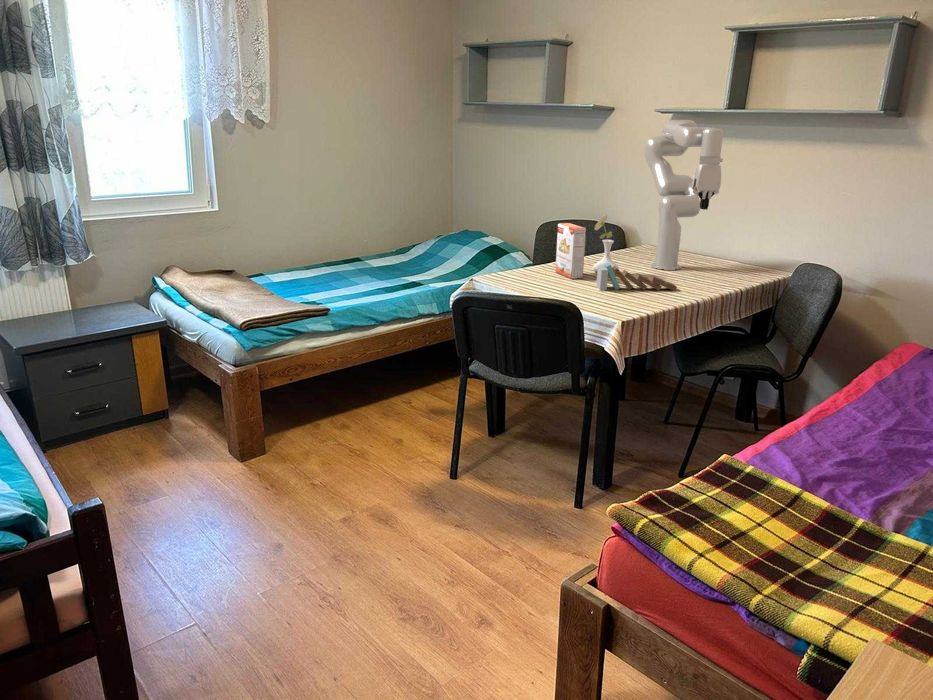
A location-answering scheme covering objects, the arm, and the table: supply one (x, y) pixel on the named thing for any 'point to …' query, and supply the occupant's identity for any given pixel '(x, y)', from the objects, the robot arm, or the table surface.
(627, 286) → the brown wooden block
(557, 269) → the cracker box
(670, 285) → the brown wooden block
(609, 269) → the teal block
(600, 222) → the flower in vase
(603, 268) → the end block
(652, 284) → the tile
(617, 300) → the table surface
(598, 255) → the table surface
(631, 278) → the tile
